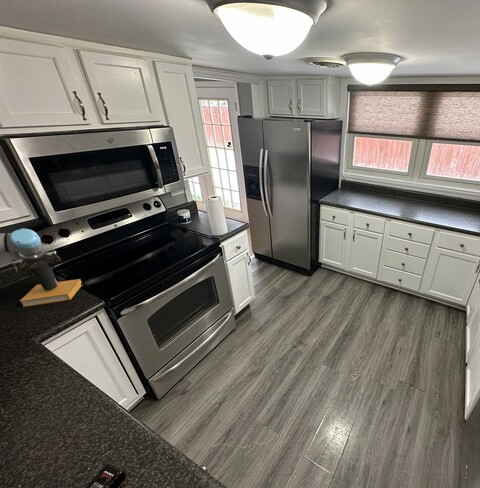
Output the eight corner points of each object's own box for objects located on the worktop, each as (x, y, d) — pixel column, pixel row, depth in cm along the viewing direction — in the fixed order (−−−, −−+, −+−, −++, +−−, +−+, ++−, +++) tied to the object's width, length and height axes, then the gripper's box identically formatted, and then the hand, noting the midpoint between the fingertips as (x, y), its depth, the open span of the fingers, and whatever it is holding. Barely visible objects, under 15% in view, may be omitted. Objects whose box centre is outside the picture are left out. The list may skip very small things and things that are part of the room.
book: (23, 307, 125) (19, 301, 123) (39, 290, 137) (36, 284, 135) (70, 299, 131) (67, 293, 129) (82, 284, 142) (80, 279, 141)
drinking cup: (46, 293, 127) (27, 257, 119) (36, 290, 129) (17, 254, 121) (65, 285, 134) (48, 250, 125) (55, 282, 136) (38, 247, 127)
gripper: (0, 268, 106) (15, 286, 122) (67, 251, 121) (72, 269, 137) (-8, 252, 107) (8, 272, 123) (60, 237, 121) (66, 256, 137)
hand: (42, 270), depth 130 cm, fingers closed on drinking cup, 8 cm apart
